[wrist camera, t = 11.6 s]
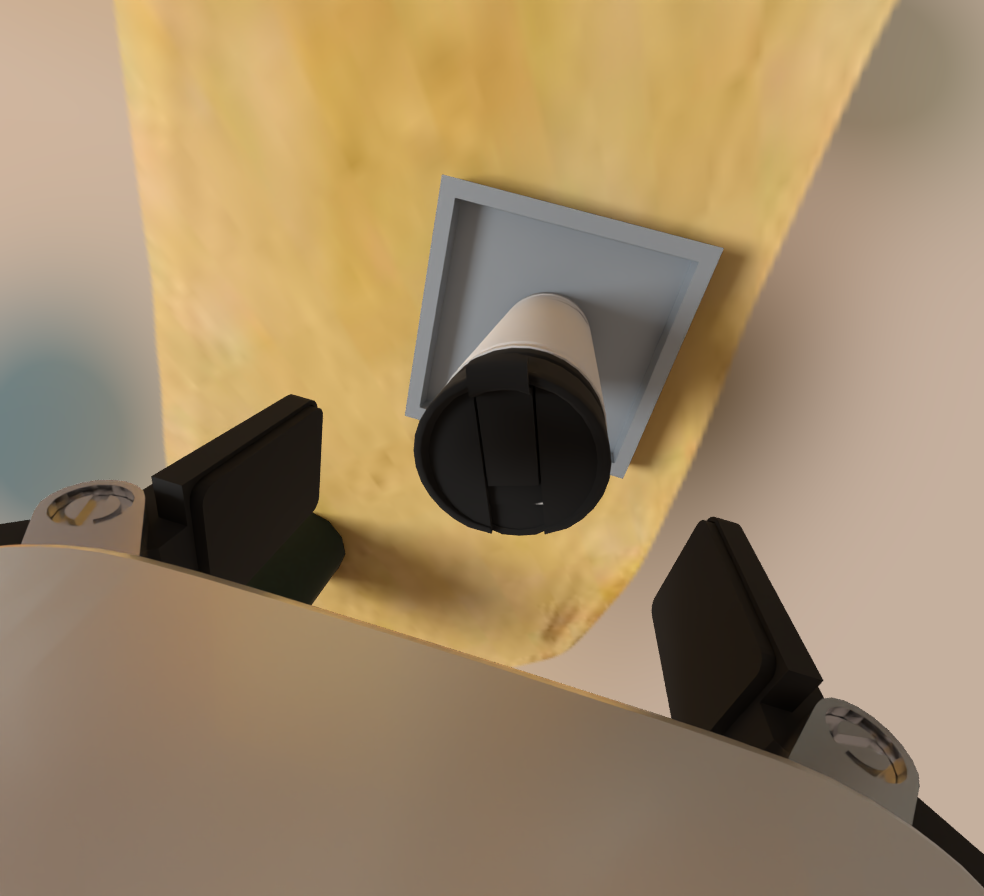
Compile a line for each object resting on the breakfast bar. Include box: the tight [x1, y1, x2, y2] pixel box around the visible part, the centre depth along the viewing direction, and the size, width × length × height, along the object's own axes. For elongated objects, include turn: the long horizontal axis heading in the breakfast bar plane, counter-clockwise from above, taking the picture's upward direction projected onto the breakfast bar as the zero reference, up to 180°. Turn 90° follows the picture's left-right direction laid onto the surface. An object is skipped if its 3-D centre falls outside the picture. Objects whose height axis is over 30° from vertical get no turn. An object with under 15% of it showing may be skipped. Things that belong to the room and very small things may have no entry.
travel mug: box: [414, 292, 612, 536], centre depth 22 cm, size 6×7×20 cm
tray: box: [405, 175, 724, 478], centre depth 31 cm, size 16×17×2 cm
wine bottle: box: [246, 513, 345, 605], centre depth 31 cm, size 8×10×30 cm
